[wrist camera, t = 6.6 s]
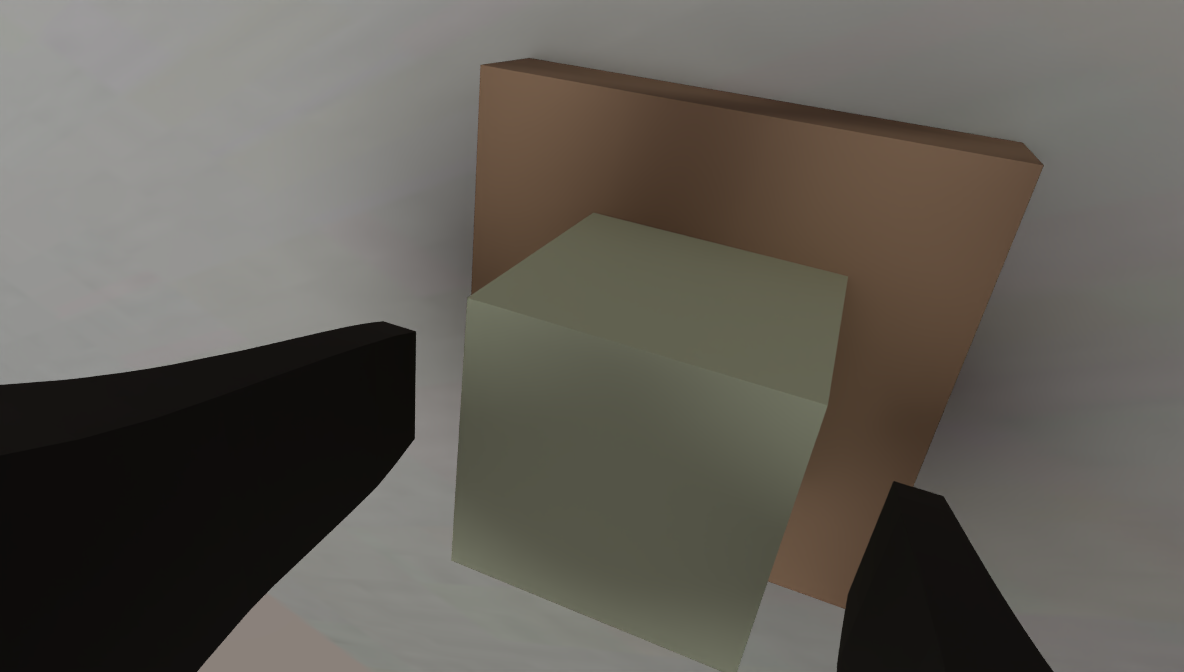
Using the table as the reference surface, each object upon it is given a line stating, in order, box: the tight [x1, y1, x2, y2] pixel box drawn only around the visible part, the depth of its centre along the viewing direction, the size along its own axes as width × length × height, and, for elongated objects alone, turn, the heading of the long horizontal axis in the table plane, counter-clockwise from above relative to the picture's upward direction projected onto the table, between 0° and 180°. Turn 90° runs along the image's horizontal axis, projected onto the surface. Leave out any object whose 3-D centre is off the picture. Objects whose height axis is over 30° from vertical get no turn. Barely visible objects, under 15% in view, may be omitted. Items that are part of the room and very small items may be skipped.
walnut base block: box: [471, 58, 1044, 609], centre depth 14 cm, size 9×9×2 cm
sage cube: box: [451, 213, 848, 672], centre depth 11 cm, size 4×4×4 cm
